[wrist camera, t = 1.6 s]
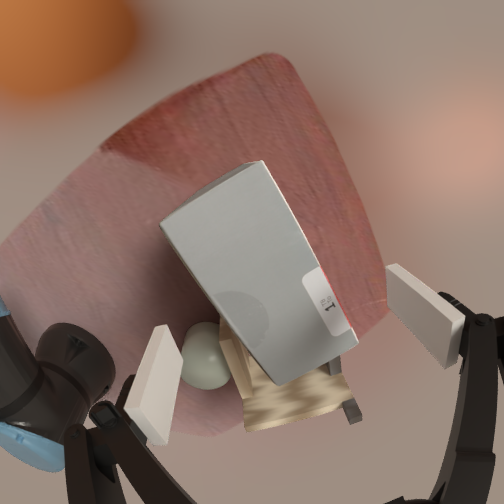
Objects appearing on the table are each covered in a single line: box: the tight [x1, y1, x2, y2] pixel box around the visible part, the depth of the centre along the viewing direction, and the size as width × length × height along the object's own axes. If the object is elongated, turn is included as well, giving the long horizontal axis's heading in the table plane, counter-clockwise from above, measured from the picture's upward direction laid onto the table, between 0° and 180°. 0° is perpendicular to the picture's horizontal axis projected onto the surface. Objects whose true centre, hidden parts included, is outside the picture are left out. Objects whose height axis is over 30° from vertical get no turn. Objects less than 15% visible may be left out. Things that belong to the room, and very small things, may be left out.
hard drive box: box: [159, 160, 359, 386], centre depth 28 cm, size 16×8×20 cm, turn 30°
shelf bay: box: [219, 315, 362, 432], centre depth 34 cm, size 14×11×17 cm
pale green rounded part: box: [180, 322, 231, 390], centre depth 39 cm, size 7×7×7 cm
